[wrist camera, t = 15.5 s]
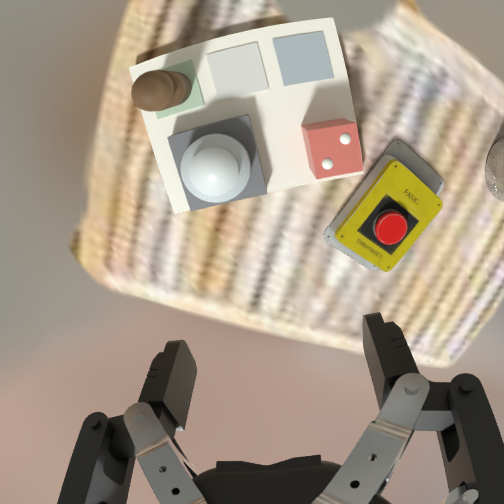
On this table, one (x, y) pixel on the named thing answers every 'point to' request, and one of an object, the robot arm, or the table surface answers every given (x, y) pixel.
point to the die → (332, 147)
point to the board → (252, 103)
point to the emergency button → (387, 210)
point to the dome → (215, 167)
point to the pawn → (160, 90)
